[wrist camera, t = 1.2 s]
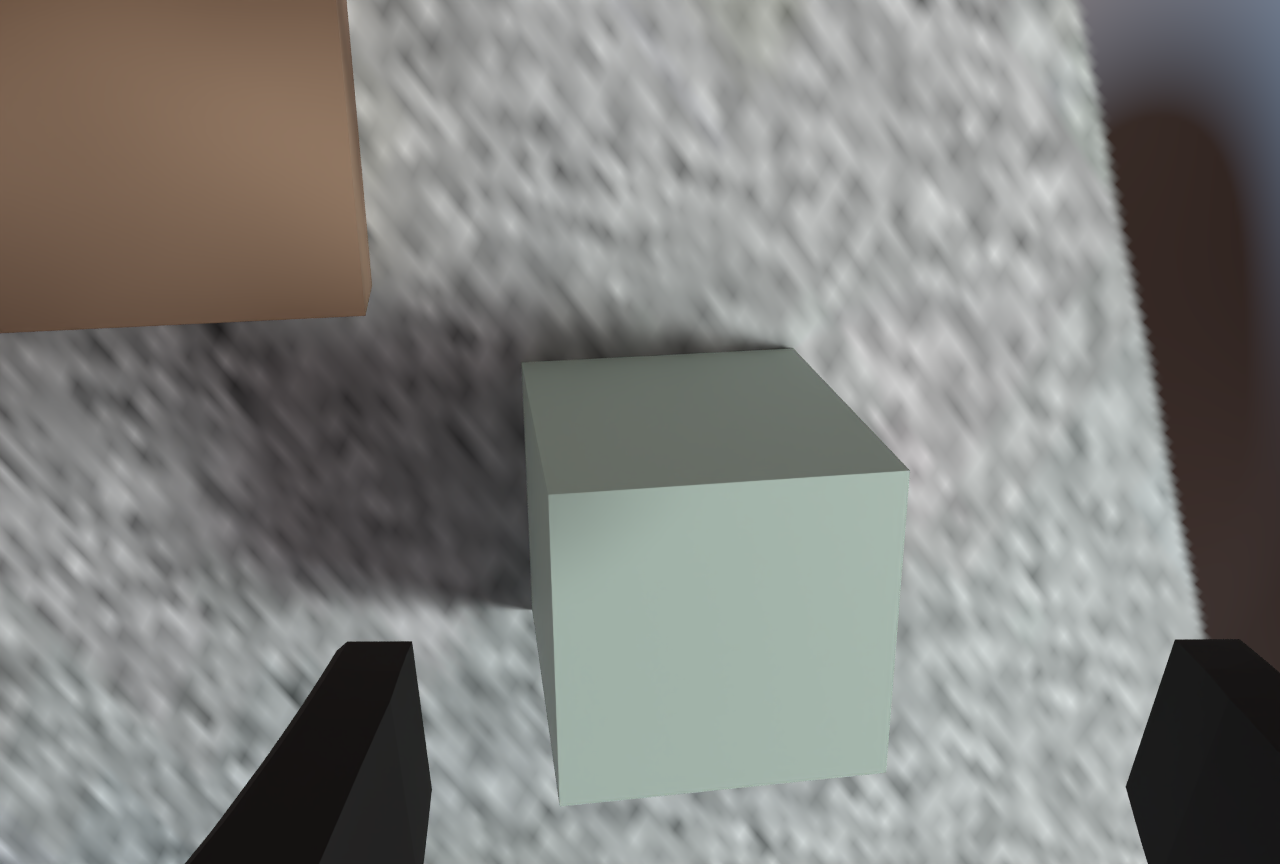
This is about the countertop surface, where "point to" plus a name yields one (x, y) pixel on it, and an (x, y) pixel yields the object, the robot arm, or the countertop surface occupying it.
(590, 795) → the sage block
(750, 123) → the countertop surface
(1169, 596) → the countertop surface
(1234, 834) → the robot arm
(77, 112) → the walnut board
